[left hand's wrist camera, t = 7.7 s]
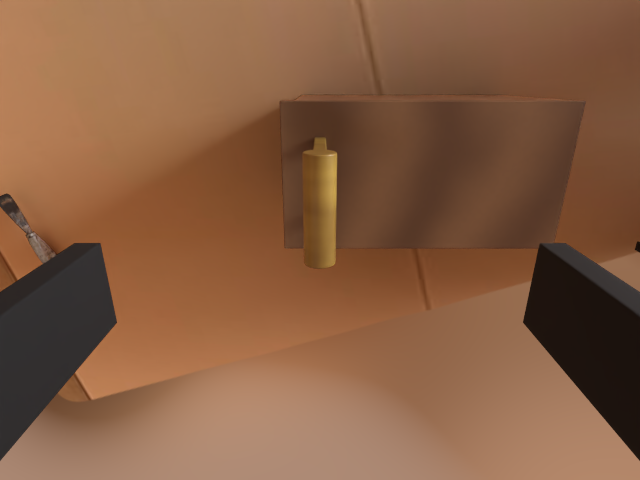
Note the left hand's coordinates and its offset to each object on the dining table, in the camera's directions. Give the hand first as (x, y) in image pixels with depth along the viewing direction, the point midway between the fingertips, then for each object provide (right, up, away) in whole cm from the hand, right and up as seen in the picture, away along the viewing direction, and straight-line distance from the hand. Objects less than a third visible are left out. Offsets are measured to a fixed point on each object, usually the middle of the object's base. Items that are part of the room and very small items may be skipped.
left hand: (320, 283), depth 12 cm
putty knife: (-27, +2, +27) cm, 39 cm away
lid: (+7, +5, +14) cm, 16 cm away
